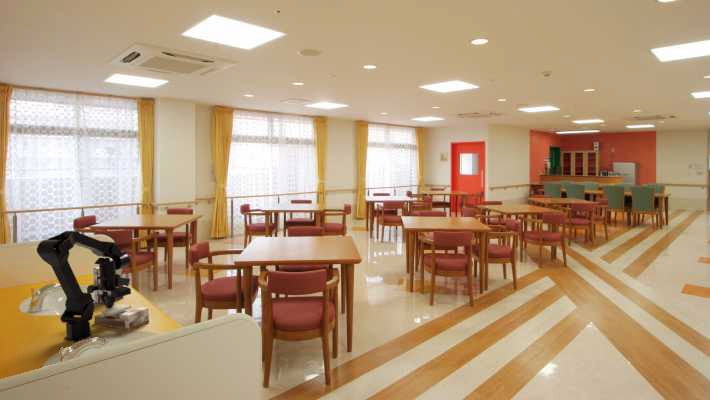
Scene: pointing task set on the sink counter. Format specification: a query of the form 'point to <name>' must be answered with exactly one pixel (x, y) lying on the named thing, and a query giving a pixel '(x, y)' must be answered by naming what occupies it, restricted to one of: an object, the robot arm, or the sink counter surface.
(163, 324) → the sink counter surface
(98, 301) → the candy bar box
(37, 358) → the sink counter surface
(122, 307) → the sliding cap
